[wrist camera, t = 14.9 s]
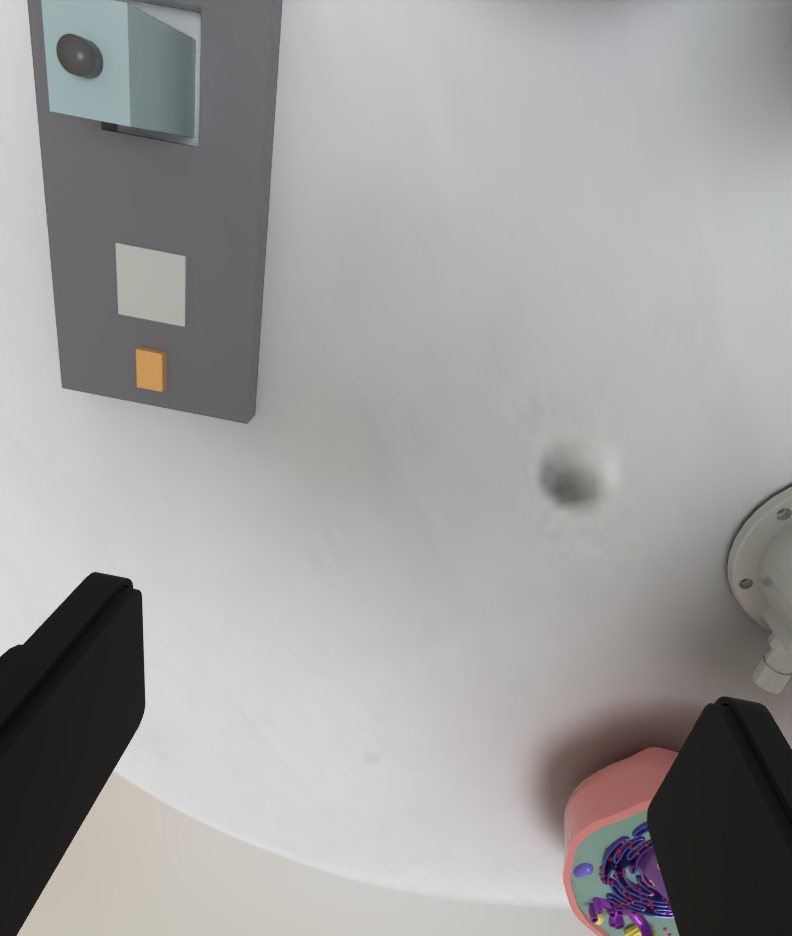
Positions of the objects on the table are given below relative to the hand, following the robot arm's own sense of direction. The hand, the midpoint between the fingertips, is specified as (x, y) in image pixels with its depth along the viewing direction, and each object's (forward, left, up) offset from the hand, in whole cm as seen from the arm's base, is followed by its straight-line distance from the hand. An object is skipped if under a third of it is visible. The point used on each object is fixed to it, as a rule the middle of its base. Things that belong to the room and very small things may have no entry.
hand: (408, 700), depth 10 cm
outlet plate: (+4, +17, -28) cm, 33 cm away
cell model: (-35, -25, -29) cm, 52 cm away
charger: (+10, +17, -28) cm, 34 cm away
